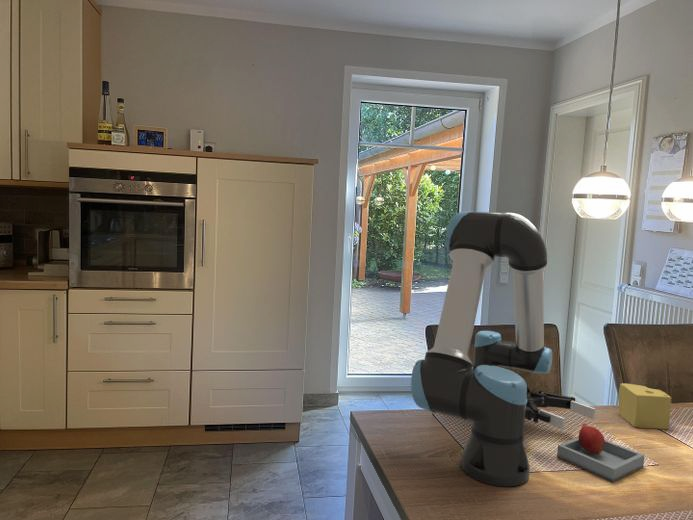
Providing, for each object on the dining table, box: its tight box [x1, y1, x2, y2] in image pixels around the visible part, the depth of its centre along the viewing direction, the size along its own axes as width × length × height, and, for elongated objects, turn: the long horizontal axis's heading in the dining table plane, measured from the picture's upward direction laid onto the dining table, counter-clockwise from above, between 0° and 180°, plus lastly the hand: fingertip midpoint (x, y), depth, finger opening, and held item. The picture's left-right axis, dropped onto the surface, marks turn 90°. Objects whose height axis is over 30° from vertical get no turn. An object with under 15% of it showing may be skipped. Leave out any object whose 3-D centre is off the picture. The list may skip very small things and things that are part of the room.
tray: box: [556, 436, 645, 483], centre depth 124 cm, size 14×14×3 cm
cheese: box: [617, 382, 672, 430], centre depth 151 cm, size 10×11×10 cm
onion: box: [578, 423, 606, 454], centre depth 127 cm, size 6×6×8 cm
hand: (579, 418), depth 129 cm, fingers open, 13 cm apart
